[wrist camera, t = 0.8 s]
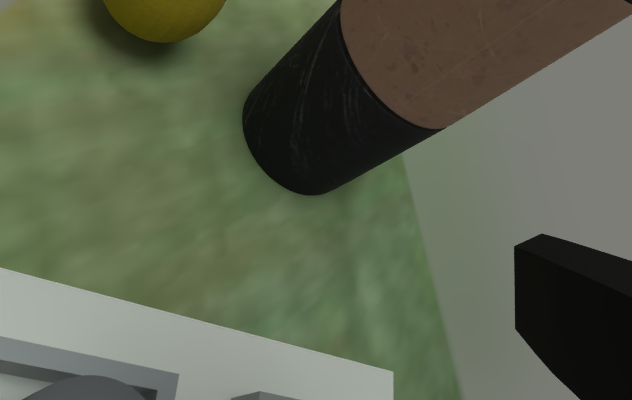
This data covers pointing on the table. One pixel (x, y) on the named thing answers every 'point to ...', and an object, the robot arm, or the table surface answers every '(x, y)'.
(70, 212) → the table surface
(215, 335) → the button panel
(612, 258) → the robot arm
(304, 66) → the travel mug
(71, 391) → the grey button
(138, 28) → the lemon
